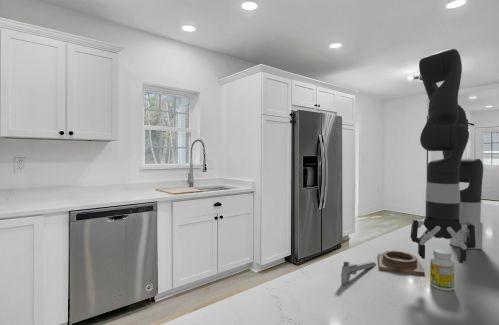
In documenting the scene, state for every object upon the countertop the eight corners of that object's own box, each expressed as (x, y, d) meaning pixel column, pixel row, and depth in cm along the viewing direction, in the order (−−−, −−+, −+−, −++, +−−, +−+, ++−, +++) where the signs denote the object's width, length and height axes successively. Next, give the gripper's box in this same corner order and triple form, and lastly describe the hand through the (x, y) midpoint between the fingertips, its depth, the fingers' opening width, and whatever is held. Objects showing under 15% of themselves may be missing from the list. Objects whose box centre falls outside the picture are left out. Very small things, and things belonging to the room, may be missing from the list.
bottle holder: (417, 260, 95) (417, 251, 95) (424, 275, 84) (424, 265, 84) (377, 256, 99) (377, 247, 99) (379, 269, 88) (379, 260, 88)
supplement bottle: (456, 292, 74) (457, 256, 73) (432, 289, 76) (433, 253, 75) (450, 283, 79) (451, 249, 78) (428, 280, 81) (428, 247, 80)
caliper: (344, 287, 78) (344, 264, 78) (341, 286, 79) (341, 263, 79) (376, 265, 92) (376, 245, 92) (372, 264, 93) (373, 245, 93)
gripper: (470, 199, 77) (468, 258, 78) (409, 196, 82) (408, 252, 83) (480, 203, 70) (478, 269, 71) (413, 200, 76) (412, 261, 76)
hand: (441, 260), depth 77 cm, fingers open, 8 cm apart
